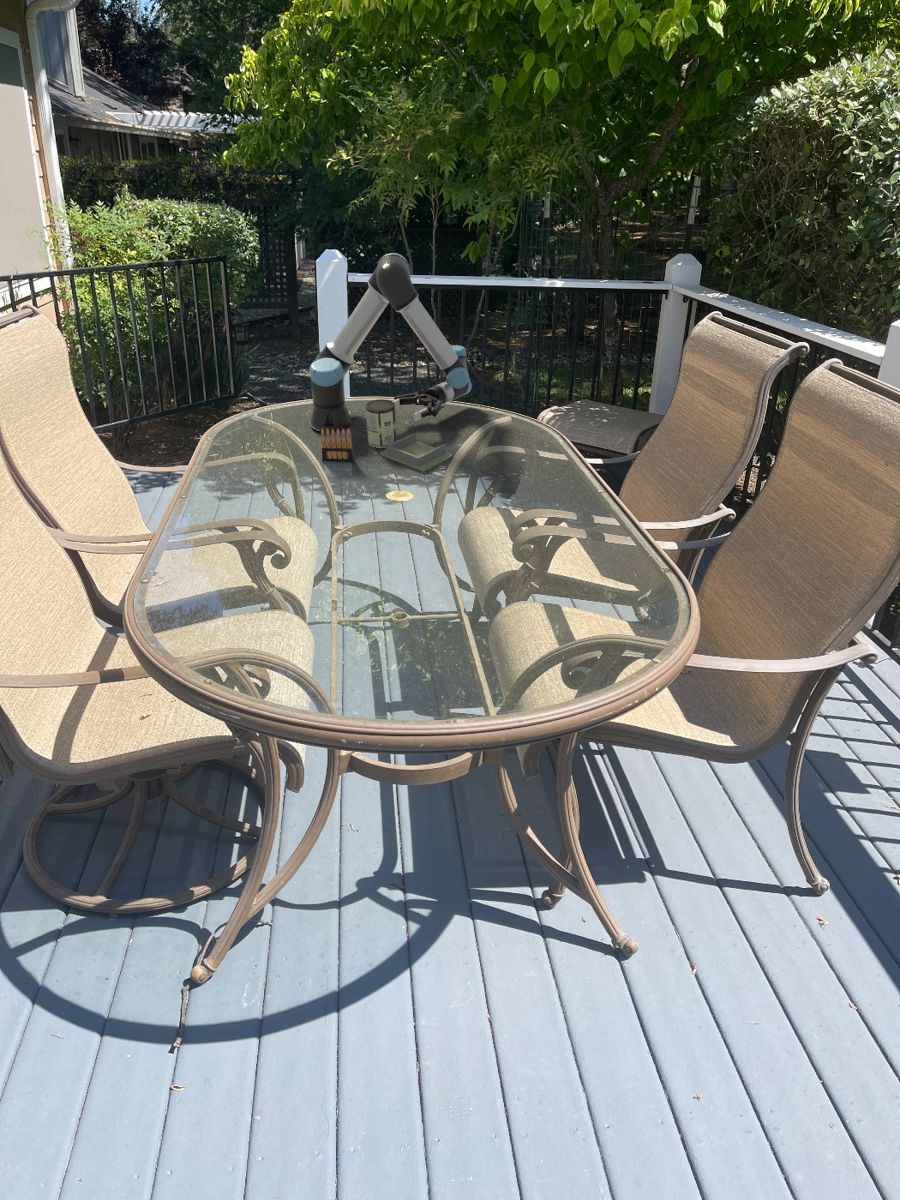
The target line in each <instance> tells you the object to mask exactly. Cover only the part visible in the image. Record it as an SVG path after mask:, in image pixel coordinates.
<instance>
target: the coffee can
mask: <svg viewBox="0 0 900 1200" xmlns="http://www.w3.org/2000/svg"><path fill="white" fill-rule="evenodd" d="M392 401H393V400H390V399H381V398H380V399H372V400H369V401H368V402H366V404H365V412H366V413H365V414H366V425H367V426H366V428H367V444H368V443H369V444H368V445H369V446H370V445H371V446H370V447H373V448H375V447H376V448H377V449H386V446H387V445H389V444H392V443H394V442H396V441H398V440H397V430H396V429H397V426H396V425H397V424H396V408H395V403H394V402H392Z"/></svg>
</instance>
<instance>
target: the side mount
mask: <svg viewBox="0 0 900 1200" xmlns="http://www.w3.org/2000/svg"><path fill="white" fill-rule="evenodd" d="M446 452H447V444H446V443H442V444H440V445H438V446H436V447H434V446H431V445H429V444H426V443H424V442H420V441H418V440H417V433H415V432H413V433H411V434H409V435H406V436H405V437H402V438H400V439H398V440H397V441H396V442H394V443H392V444H389V445H387V446H386V448H385V450H383V451H381V452H379V453H380V454H379V455H380V456H382V457H384V458H386V459H389V460H391V461H394V462H397V463H399V464H402V465H404V466H407V467H410V468H412V469H415V470H417V471H420V472H423V473H424V472H426V471H428V470H430V469H431V468H434V467H435V466H437V465H439V463H440V464H441V463H443V462H444V461H443V460H444V459H446V458H447V457H448V456H449V455H447V453H446ZM442 461H443V462H442Z"/></svg>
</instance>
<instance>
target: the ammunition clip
mask: <svg viewBox="0 0 900 1200" xmlns="http://www.w3.org/2000/svg"><path fill="white" fill-rule="evenodd" d="M350 430H351V429H350V428H348V429H346V430H344V429H342V431H341V432H339V429H337V432H336V433H335V432H334V429H333V428H332V432H331V433H330V432H329V429H328V428H327V431H326V433H324V430H323V428H322V430H321V432H320V435H321V436H320V437H321V439H320V440H321V441H320V442H321V460H322V461H326V462H325V463H354V461H355V458H354V456H355V455H354V451H353V440H352V435H351V431H350ZM345 431H347V432H345Z"/></svg>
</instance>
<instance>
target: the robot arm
mask: <svg viewBox="0 0 900 1200" xmlns="http://www.w3.org/2000/svg"><path fill="white" fill-rule="evenodd" d="M376 264H377V265H376V268H375V269H374V271H373V272H372V274H371V276H370V277H369V279H368V280H367V284H368V289H367V290H366V292H365V293H364V294H363V296H362V297H361V299H360V301H359V302H358V304H357V305H356V307H355V308H354V310H353V312H352V313H351V314H350V316H349V317H348V319H347V320H346V322H345V323H344V325H343V327H342V328H341V330H340V331H339V332H338V334H337V335H336V337H335V339H334V340H333V341H329V342H327V343H326V345H325V346H324V348H323V349H322V350H321V351H320V352H319V353H318V354H317V355H316V357H315V358H314V361H313V362H312V363H311V364H310V365H309V377H310V385H311V387H310V388H311V394H312V395H311V396H312V406H313V407H312V411H311V416H310V420H309V424H310V423H311V425H312V426H313V427H314V428H316V429H318V430H320V431H321V430H322V428H323V430H324V432H326V431H327V428H328V429H329V432H332V428H333V429H334V432H335V434H337V429H339V432H340V433H342V429H344V431H347V430H348V429H350V428H351V427H352V417H351V415H350V412H349V410H348V407H347V405H346V397H345V383H344V382H345V377H346V374H347V373H348V371H349V370H350V368H351V367H352V365H353V364H354V361H355V359H354V356H355V354H356V352H357V350H358V349H359V347H360V346H361V345H362V343H363V341H364V340H365V339H366V337H367V335H368V334H369V332H370V331H371V329H372V328H373V327H374V325H375V324H376V323H377V321H378V319H379V318H380V316H381V314H383V312H384V311H385V309H386V308H387V306H388V305H389V304H390V305H391V307H392V308H393V309H394V310H395V312H397V313H400V314H401V315H402V317H403V319H404V320H405V322H407V324H408V325H409V326H410V328H411V329H412V331H413V332H414V333H415V334H416V336H417V337H418V339H419V340H420V342H421V343H422V344H423V346H424V348H425V349H427V351H428V353H429V354H430V355H431V357H432V358H433V360H434V361H435V363H436V364H437V365H438V367H439V368H440V369H441V371H442V372H443V374H444V376H445V379H446V380H445V381H443V382H441V383H439V384H436V385H434V386H432V387H429V388H427V390H426V391H425V393H422V394H419V393H420V392H418V391H415V392H413V393H406V394H401V395H400V394H399V395H394V397H393V400H391V401H392V402H394V403H395V409H397V408H399V407H401V406H406V405H407V406H409V405H415V406H423V407H425V408H423V409H421V410H418V411H416V412H413V414H412V416H413V417H412V418H413V419H412V421H413V422H417V421H419V420H421V419H423V418H426V417H431V416H432V417H435V418H436V417H437V416H438V414H439V413H440V411H441V409H443V408H445V405H446V404H448V403H450V402H452V401H455V400H457V399H459V398H462V397H465V396H466V395H467V394H469V393H470V392H471V390H472V388H473V384H472V382H471V378H470V374H469V371H468V366H467V365H468V364H467V349H466V347H465V346H462V345H457V344H456V345H455V344H454V345H451V344H450V343H449V342H448V340H447V338H446V337H445V335H444V334H443V333H442V331H441V330H440V328H439V327H438V326H437V324H436V322H435V321H434V320H433V318H432V316H431V315H430V314H429V312H428V311H427V310H426V308H425V307H424V306H423V304H422V303H421V301H420V299H419V293H418V292H417V290H416V289H415V287H414V284H413V282H412V279H411V273H412V272H411V266H410V264H409V262H408V260H407V259H406V257H404V256H403V255H402V254H399V253H396V252H391V253H387V254H385V255H383V256H382V257H380V259H379V260H378V262H377V263H376ZM426 407H427V408H426ZM311 425H310V426H311Z"/></svg>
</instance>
